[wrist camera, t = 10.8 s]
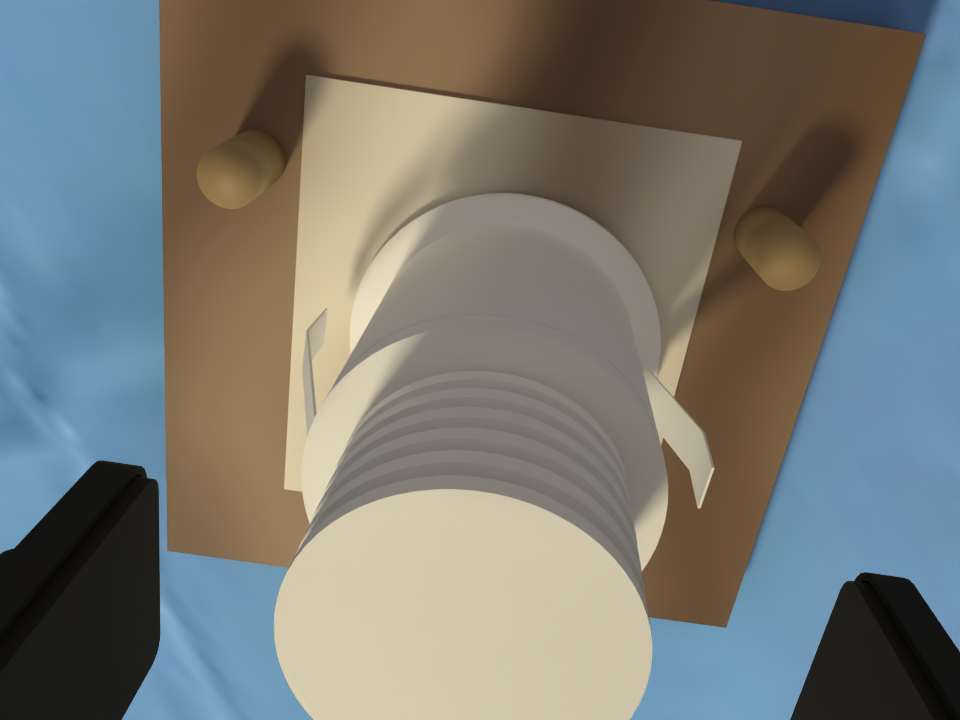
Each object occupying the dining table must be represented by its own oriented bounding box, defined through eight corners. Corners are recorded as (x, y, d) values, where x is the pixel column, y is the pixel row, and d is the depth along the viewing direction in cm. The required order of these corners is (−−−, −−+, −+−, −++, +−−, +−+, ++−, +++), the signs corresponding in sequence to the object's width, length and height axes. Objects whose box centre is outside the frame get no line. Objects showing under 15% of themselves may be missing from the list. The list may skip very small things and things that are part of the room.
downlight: (719, 230, 18) (893, 473, 9) (634, 502, 21) (699, 900, 12) (352, 156, 18) (142, 321, 9) (319, 437, 21) (132, 785, 12)
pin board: (900, 31, 17) (978, 39, 14) (716, 597, 24) (745, 684, 21) (180, -82, 17) (111, -96, 14) (184, 524, 23) (136, 601, 20)
